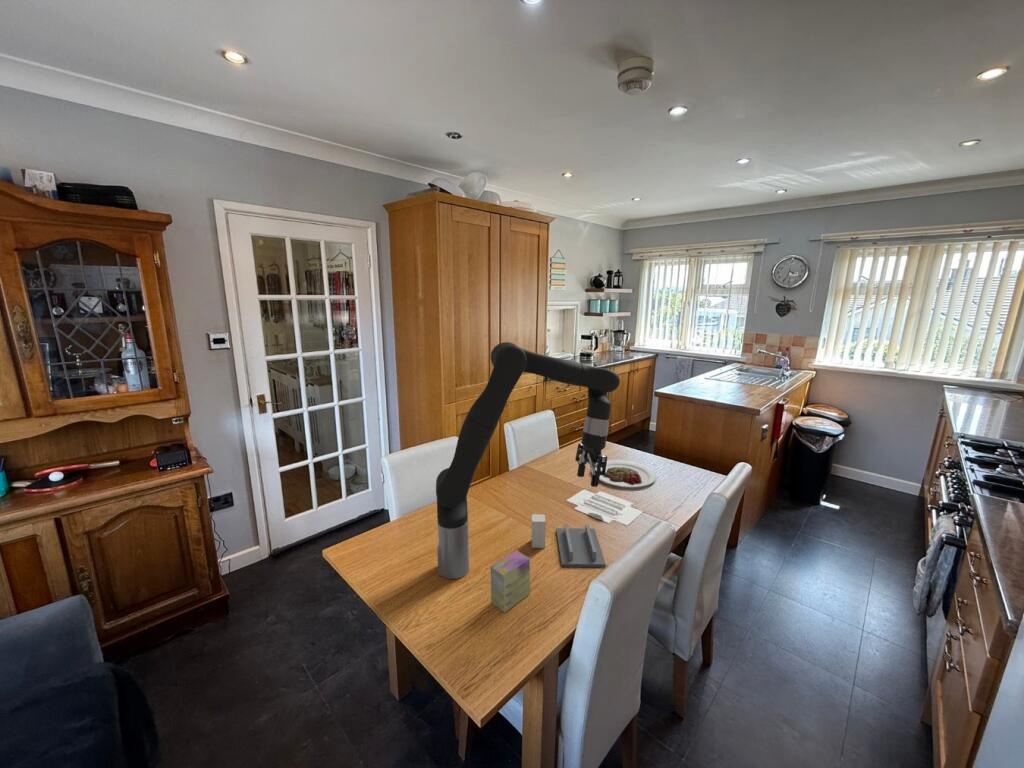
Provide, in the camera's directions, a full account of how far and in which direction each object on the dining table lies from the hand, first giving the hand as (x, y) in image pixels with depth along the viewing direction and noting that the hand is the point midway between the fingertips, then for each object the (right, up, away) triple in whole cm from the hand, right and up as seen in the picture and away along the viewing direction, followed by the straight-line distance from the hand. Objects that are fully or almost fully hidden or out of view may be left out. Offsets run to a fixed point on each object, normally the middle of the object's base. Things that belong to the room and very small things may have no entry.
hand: (587, 481), depth 128 cm
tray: (+14, -20, +38) cm, 45 cm away
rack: (-1, -25, +11) cm, 27 cm away
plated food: (+29, -13, +66) cm, 73 cm away
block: (-15, -25, +13) cm, 32 cm away
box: (-24, -31, -12) cm, 41 cm away
